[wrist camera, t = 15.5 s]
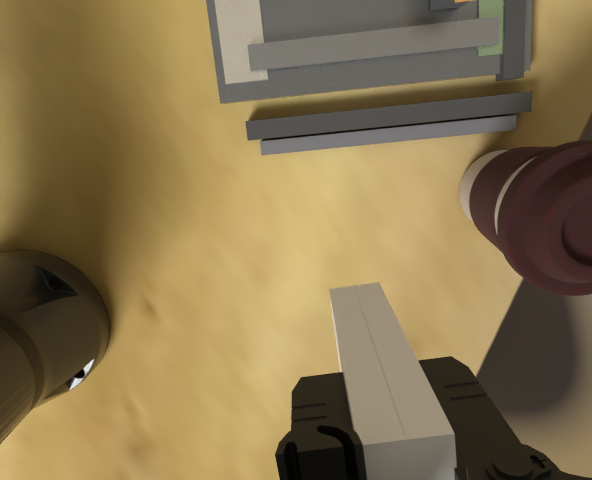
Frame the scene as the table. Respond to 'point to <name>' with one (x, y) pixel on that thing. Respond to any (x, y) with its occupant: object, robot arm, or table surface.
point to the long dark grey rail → (389, 123)
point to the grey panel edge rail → (513, 40)
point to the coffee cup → (537, 212)
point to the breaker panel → (351, 44)
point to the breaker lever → (446, 4)
